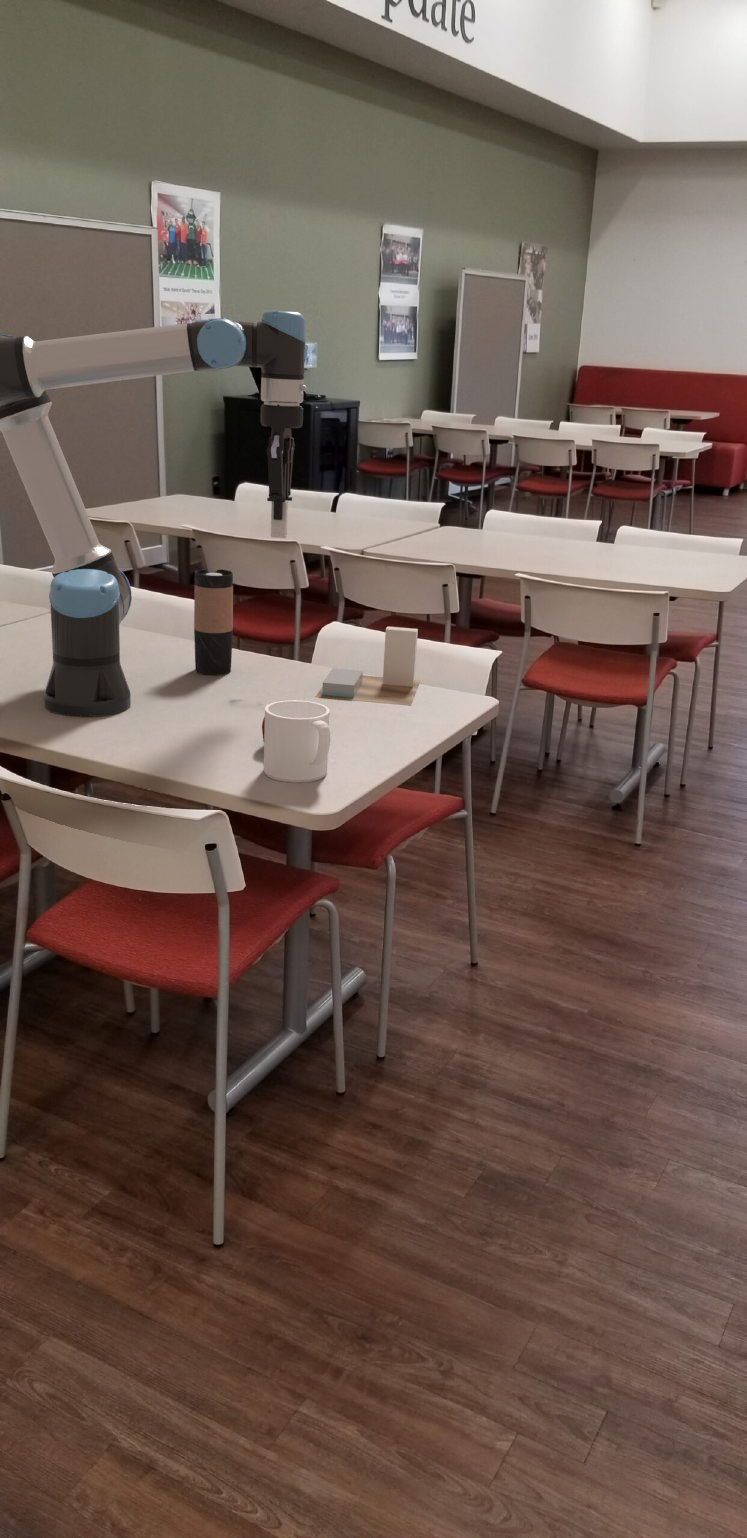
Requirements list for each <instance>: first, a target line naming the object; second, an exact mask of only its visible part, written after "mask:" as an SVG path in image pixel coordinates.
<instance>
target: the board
mask: <svg viewBox="0 0 747 1538" xmlns="http://www.w3.org/2000/svg"><path fill="white" fill-rule="evenodd" d="M420 683H421V679H419V680H418V679H415V681H414V686H413V687H410V686H398V685H387V684H383V676H376V675H375V676H374V675H365V674H364V675H363V680H362V684H361V686H360V688H359V689H358V691H357V693H356V694H355V696H354V698H352V697H340V696H329V695H322V687H323V685H322V687H321V688H320V689H319V691H318V692H317V693H316V695H315V698H323V699H335V700H343V701H344V700H345V701H353V702H354V701H357V702H366V703H367V702H368V703H377V704H378V703H379V704H389V705H401V706H402V705H403V706H410V707H411V706H412V703H413V701H414V699H415V697H416V694H417V691H418V689H419V686H420Z"/></svg>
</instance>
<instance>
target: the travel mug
mask: <svg viewBox="0 0 747 1538" xmlns="http://www.w3.org/2000/svg"><path fill="white" fill-rule="evenodd" d="M233 573H234V572H233V571H230V570H227V569H217V570H215V571H208V570H207V569H204V568H202V569H198V570H195V571H194V600H193V601H194V603H193V604H194V607H193V608H194V610H193V611H194V612H193V613H194V614H193V615H194V616H193V617H194V618H193V619H194V620H193V621H194V622H193V633H194V635H193V636H194V637H193V638H194V667H195V672H196V673H198V674H201V675H205V676H222V675H226V674H230V673H231V671H232V658H233V657H232V655H233V654H232V653H233V633H234V632H233V631H234V630H233V629H234V627H233V625H234V615H233V614H234V610H233V609H234V602H233V601H234V600H233V599H234V597H233V596H234V575H233Z"/></svg>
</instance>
